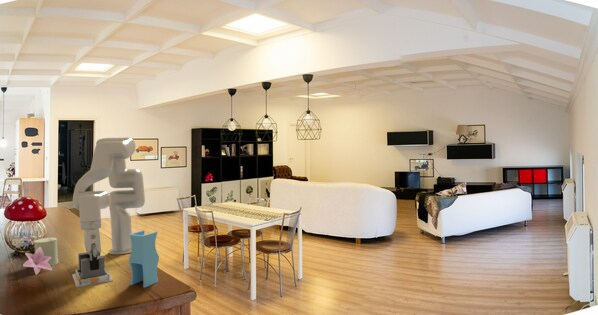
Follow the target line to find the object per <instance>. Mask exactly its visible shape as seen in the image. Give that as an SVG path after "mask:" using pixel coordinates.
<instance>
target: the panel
mask: <svg viewBox="0 0 598 315" xmlns="http://www.w3.org/2000/svg"><path fill="white" fill-rule="evenodd" d="M98 259H99V269H97V270H92V271H91V270H90V258H86V259H81V272H82V279H86V278H91V277H97V276H102V275H105V268H104V267H105V256H103V255H100V256H98Z"/></svg>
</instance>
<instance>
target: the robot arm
mask: <svg viewBox="0 0 598 315" xmlns="http://www.w3.org/2000/svg"><path fill="white" fill-rule="evenodd" d="M95 143H96V144H95V147H94V150H93V156H92V160H91V165H90V170H88V171H86V173H84V174H83V175H82V177H80V178H79V179H78V181H77V182H76V183H75V186H74V191H73V196H72V205H73V207H74V209H76V210H78V211H79V228H80V229H79V230H80V231H83V241H84V249H85V252H87V258H90V270H91V271H92V270H97V269H99V259H98V252H99V253H100V254H101V253H102V245H101V243H102V242H101V235H100V234H101V233H100V229H102V218H101V217H102V216H101V215H102V214H101V213H102V212H101V210H103V209H104V210H105V209H107V208H109V215H110V229H111V230H110V231H111V234H110V235H111V249H109V250H108V254H110V255H112V256H115V255H117V256H118V255H125V254H126V255H127V254H131V251H132V243H131V239H130V234H132V232H133V231H132V216H131V214H130V213H129V212H128V210H127V209H138V208H142V207H144V206H145V202H146V201H145V200H146V199H145V198H146V197H145V187H144V185H145V184H144V177H143V173H142V171H141V170H140V169H138V168H127V166H126V164H127V163H126V160H127V159H129V158H130V157H131V156H133V155H134V153H135V152H136V143H135V140H134V139H133V138H131V137H104V138H99V139H97V140H96V142H95ZM107 178H108V183H109V186H110V187H111V188H113V189H117V190H112V191H111V192H108V191H106V190H96V191H95V190H92V191H91V190H90V191H86V190H87V189H88V188H89V187H90V186H91V185H93V184H94V185H95V183H99V182H100V181H102V180H105V179H107ZM97 251H98V252H97Z"/></svg>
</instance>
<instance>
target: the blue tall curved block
mask: <svg viewBox="0 0 598 315" xmlns="http://www.w3.org/2000/svg"><path fill="white" fill-rule="evenodd" d="M157 235H158V231H154V232H151V233H150V232H149V233H147V234H145V230H139V231H136V232H133V233H132V234H130V239H131V243H132V251H131V253H130V256H129V259H128V264H129V268H130V272H131V279H130V284H129V285H130V286H133V285H135V284H138V283H140V282H143V284H142V285H143V286H142V287H143V288H145V289H146V288H147V287H151V286H152V285H155V284H156V283H158V282H159V278H158V277H159V276H158V265H159V261H160V256H159V254H158V251H157V248H156V240H157Z"/></svg>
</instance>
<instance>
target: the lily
mask: <svg viewBox="0 0 598 315" xmlns="http://www.w3.org/2000/svg"><path fill="white" fill-rule="evenodd" d="M25 255H26V257H27V258H28V260H26V261H25V262H24V263H23V265H22V267H25V268H26V267H28V268H29V267H30V268H32V269H31V271H34V273H35V275H38V274H39V273H40V271H41V269H44V270H48V271H53V267H52V266H50V264H49V263H48V262H47V261H49V260H50V259H51V257H50V256H44V253H43V250H42V248H41V247H39V248H38V249H37V250H36V252H35V251H34V253H30V252H25ZM31 271H30V272H31Z"/></svg>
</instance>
